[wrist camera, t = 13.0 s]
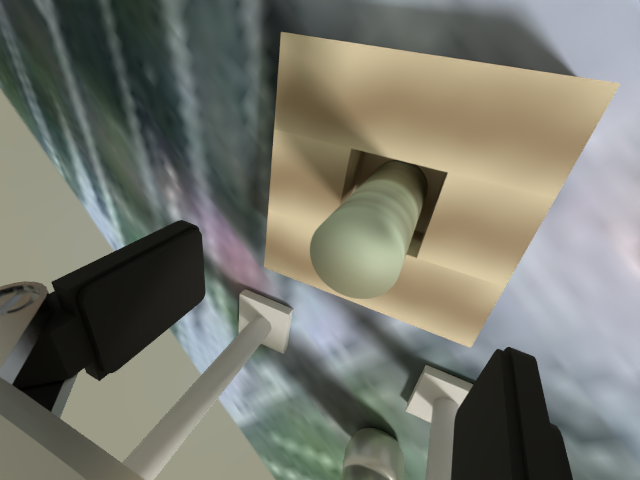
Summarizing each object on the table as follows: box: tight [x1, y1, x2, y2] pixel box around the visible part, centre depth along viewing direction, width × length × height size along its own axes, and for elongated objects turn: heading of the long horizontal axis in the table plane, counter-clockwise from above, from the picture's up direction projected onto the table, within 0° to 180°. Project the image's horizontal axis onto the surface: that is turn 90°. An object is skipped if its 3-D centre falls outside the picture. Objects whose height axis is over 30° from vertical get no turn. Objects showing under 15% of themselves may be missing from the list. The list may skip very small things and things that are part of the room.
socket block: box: [264, 32, 620, 348], centre depth 21 cm, size 16×16×5 cm
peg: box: [310, 160, 428, 299], centre depth 18 cm, size 4×4×11 cm
